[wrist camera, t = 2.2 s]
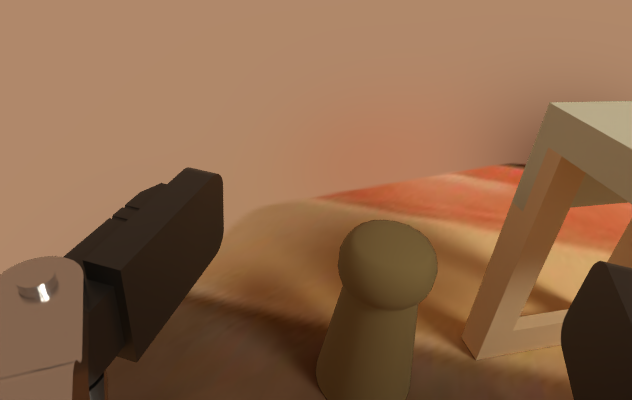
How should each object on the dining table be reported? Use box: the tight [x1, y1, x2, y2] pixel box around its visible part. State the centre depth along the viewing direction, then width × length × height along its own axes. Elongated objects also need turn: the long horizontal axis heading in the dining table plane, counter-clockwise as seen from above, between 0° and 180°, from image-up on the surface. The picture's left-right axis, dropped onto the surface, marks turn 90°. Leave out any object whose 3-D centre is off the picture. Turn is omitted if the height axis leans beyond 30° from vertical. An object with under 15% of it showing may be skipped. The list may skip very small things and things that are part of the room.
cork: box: [315, 220, 437, 400], centre depth 26 cm, size 6×6×11 cm
